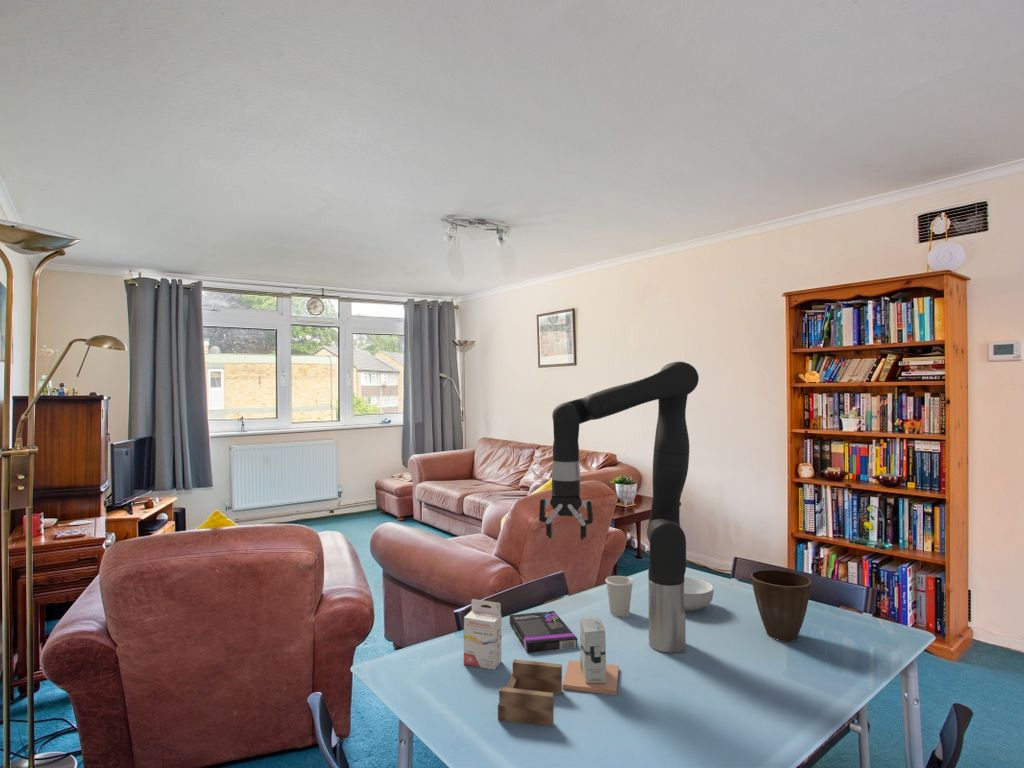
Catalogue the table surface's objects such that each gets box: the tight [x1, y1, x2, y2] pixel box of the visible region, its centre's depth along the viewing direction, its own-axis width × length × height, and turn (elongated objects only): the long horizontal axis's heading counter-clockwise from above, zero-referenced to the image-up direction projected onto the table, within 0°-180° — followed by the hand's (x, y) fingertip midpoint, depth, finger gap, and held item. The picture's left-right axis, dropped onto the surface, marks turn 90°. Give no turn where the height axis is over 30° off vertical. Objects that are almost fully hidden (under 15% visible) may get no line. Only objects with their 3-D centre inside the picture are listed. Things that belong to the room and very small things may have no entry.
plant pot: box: [750, 569, 812, 642], centre depth 156 cm, size 15×15×16 cm
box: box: [509, 610, 578, 654], centre depth 157 cm, size 14×4×20 cm
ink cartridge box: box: [463, 598, 503, 671], centre depth 140 cm, size 9×5×15 cm, turn 71°
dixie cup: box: [604, 575, 634, 618], centre depth 172 cm, size 8×8×10 cm
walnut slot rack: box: [497, 659, 563, 728], centre depth 121 cm, size 11×14×6 cm
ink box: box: [579, 616, 607, 683], centre depth 133 cm, size 9×5×12 cm, turn 1°
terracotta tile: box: [562, 659, 619, 696], centre depth 132 cm, size 12×12×1 cm
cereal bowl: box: [684, 576, 714, 612], centre depth 178 cm, size 17×17×7 cm
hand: (566, 538), depth 151 cm, fingers open, 8 cm apart
